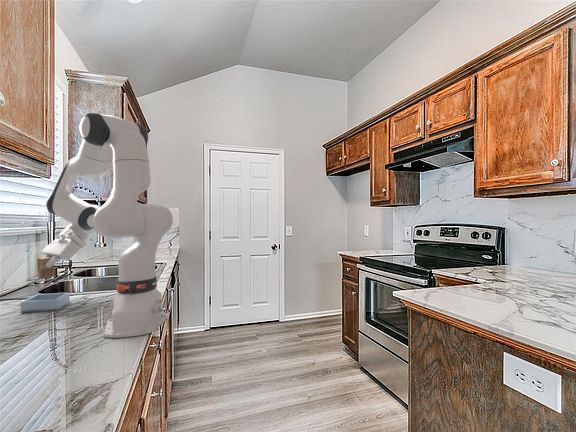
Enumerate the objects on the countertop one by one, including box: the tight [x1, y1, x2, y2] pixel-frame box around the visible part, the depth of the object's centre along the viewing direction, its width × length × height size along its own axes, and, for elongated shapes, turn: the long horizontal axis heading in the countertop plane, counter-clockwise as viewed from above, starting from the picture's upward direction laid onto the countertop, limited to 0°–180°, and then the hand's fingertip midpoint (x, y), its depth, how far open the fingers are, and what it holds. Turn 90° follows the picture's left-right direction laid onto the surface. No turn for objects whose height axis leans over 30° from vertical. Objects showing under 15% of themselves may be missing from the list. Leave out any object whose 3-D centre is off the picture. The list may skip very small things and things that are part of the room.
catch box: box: [20, 292, 71, 314], centre depth 127 cm, size 12×12×4 cm
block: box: [36, 256, 55, 280], centre depth 127 cm, size 4×4×8 cm
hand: (43, 266), depth 126 cm, fingers closed on block, 4 cm apart
